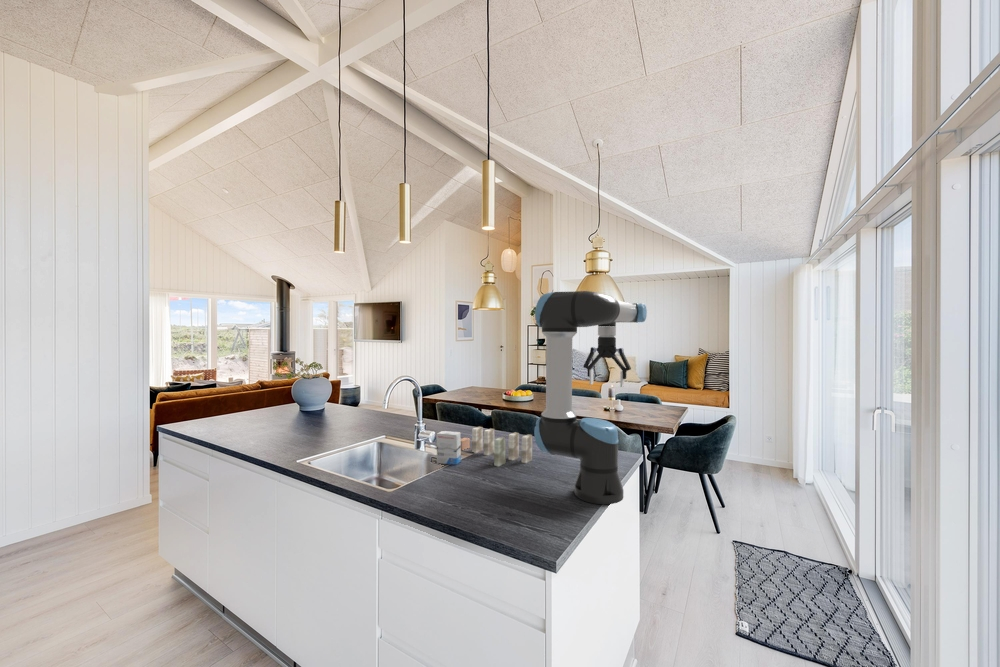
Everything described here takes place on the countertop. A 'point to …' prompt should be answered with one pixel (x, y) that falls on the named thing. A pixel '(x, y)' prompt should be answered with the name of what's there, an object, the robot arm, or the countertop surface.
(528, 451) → the domino
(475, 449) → the domino
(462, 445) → the end stop
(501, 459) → the domino
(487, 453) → the domino
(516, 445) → the domino
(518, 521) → the countertop surface
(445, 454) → the ink box
